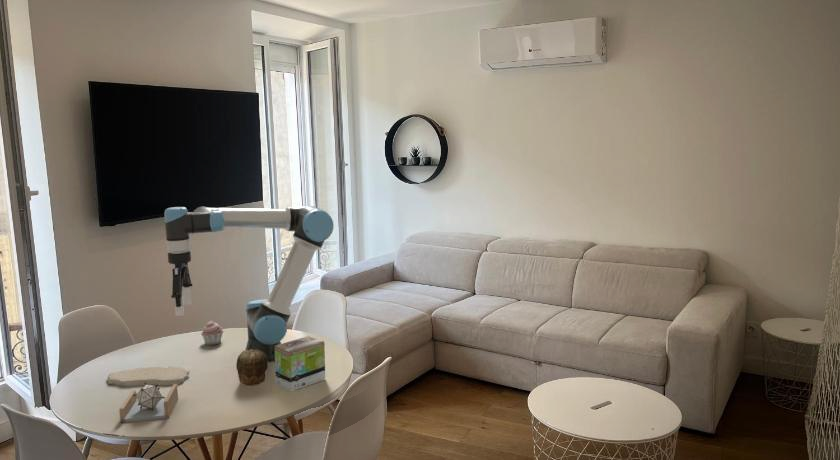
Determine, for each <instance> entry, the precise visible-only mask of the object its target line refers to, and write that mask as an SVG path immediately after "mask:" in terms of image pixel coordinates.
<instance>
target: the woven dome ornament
mask: <svg viewBox="0 0 840 460" xmlns="http://www.w3.org/2000/svg"><path fill="white" fill-rule="evenodd" d="M235 365H236V367H235V368H236V371H237V376H238V381H239V382H240V384H241V385H244V386H256V385H261V384H262V383H264V382H265V380H266V373H267V370H268V369H269V368H268V367H269V362H268V359H267V356H266V354H265V353H264V352H262V351H260V350H258V349H256V350H252V349H250V350H246V349H245V350H242V351H241V352H240V353H239V355H238V356H237V359H236V364H235Z"/></svg>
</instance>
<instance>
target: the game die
mask: <svg viewBox="0 0 840 460" xmlns="http://www.w3.org/2000/svg"><path fill="white" fill-rule="evenodd" d="M158 386H159V385H158V384H156V385H150V384H148V385H147V384H146V382H145V385H143V386H142V387H141V388H140V389H139V391H137V392H136V395H135V394H134V395H133V396H136V399H137V400H138V402H139V404H138V405H141V407H140V409H141V408H142V407H145V408H151V409H152V411H153V407H154V406H155V405H156V404H157V403H158V402H159V401H160V400H161V399H162V398H166V397H165V396H163V395H162V394H161V392H160V387H158Z"/></svg>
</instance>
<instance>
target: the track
mask: <svg viewBox="0 0 840 460" xmlns="http://www.w3.org/2000/svg"><path fill="white" fill-rule="evenodd" d="M134 394H135V395H136V394H137V391H136V390H131V391H130V393H128V395H127V397H126V398H125V400H124V401H123V403H122V404H121V405H120V407H119V408H118V409H119V419H120V423H129V422H142V421H152V420H162V419H170V417H171V416H172V413H173V411H174V409H175V407H176V405H177V403H178V401H179V393H178V384H173V385H171V388H170V390H169V391H168V393H167V395H166V397H165V398H162V399H161V400H160V401H159V402H158V403H157V404H156V405H155V406H154V407H153V411H152V409H151V408H145V407H142V408H141V409H140V407H141V405H138V404H139V402H138V400H137V398H136V396H133V395H134Z"/></svg>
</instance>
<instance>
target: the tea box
mask: <svg viewBox="0 0 840 460" xmlns="http://www.w3.org/2000/svg"><path fill="white" fill-rule="evenodd" d="M325 351H326V350H325V341H324V340H321V339H319V338H315V337H314V336H313V337H312V336H309V335H307V336H304V337H300V338H297V339H296V338H295V339H294V340H290V341H287V342H283V343H281V344H279V345H276V346H275V361H274V365H275V366H274V367H275V368H274V371H275V372H274V373H275V385H276V386H278V387H280V388H282V389H284V390H287V391H289V392H292V393H293V392H294V391H296V390H298V389H299V390H300V389H301V388H304V387H305V388H306V387H307V386H310V385H312V384H316V383H318V382H322V381H325V380H326V356H325V355H326V354H325V353H326V352H325ZM324 379H325V380H324Z"/></svg>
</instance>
